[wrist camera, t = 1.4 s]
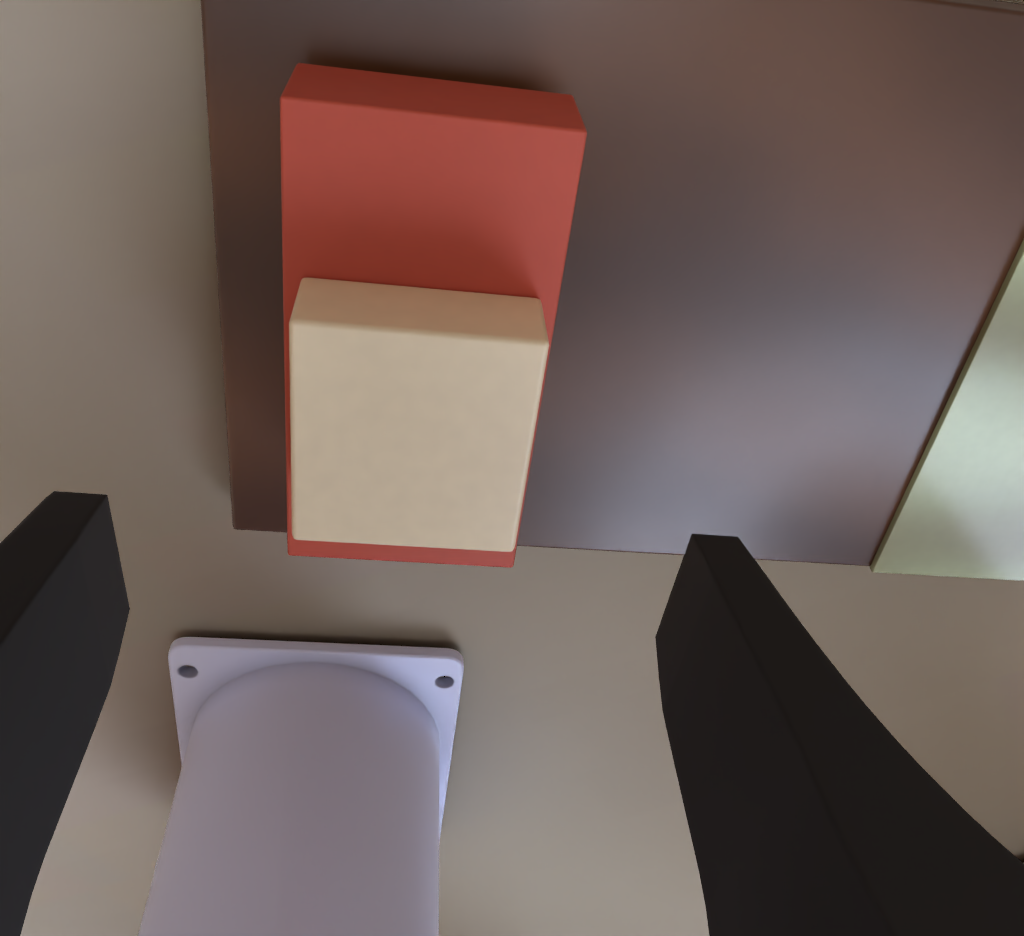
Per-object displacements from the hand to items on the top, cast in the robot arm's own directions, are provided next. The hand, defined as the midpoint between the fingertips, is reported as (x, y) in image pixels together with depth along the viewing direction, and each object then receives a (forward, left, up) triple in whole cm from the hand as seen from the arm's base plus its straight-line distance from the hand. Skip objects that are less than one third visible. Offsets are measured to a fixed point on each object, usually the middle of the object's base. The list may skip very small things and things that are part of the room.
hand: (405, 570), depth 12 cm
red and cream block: (0, 0, -9) cm, 9 cm away
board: (0, -7, -10) cm, 12 cm away
